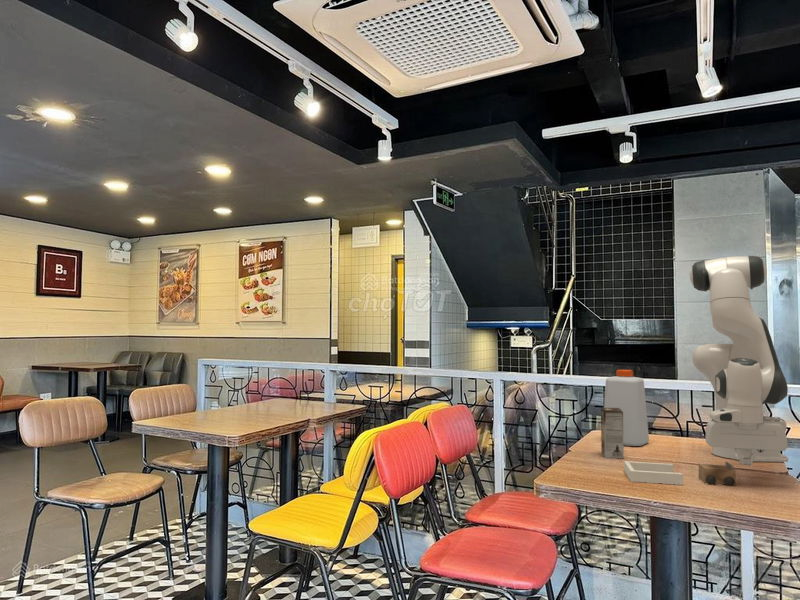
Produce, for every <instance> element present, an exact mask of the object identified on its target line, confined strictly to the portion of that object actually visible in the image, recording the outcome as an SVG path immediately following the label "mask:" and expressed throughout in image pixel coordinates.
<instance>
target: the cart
mask: <svg viewBox="0 0 800 600" xmlns="http://www.w3.org/2000/svg"><path fill="white" fill-rule="evenodd" d="M698 479H699V480H700V481H701V480H702V481H703V482H704V483H708V484H707V485H711V484H713V485H716V484H725V485H724V486H729V485H730V486H729V487H732V485H736V486H737V479H736V470H735V466H734V465H733V464H731V463H730V462H728V461H725V462H724V464H713V463H712V464H710V463H698ZM702 481H701V482H702ZM703 482H702V483H703ZM704 483H703V484H704Z"/></svg>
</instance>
